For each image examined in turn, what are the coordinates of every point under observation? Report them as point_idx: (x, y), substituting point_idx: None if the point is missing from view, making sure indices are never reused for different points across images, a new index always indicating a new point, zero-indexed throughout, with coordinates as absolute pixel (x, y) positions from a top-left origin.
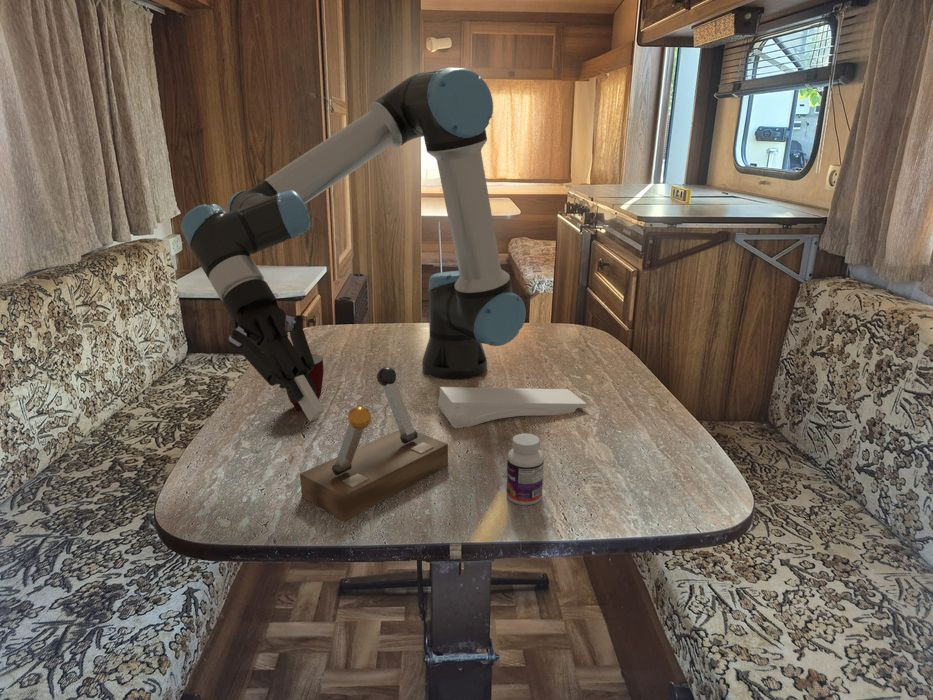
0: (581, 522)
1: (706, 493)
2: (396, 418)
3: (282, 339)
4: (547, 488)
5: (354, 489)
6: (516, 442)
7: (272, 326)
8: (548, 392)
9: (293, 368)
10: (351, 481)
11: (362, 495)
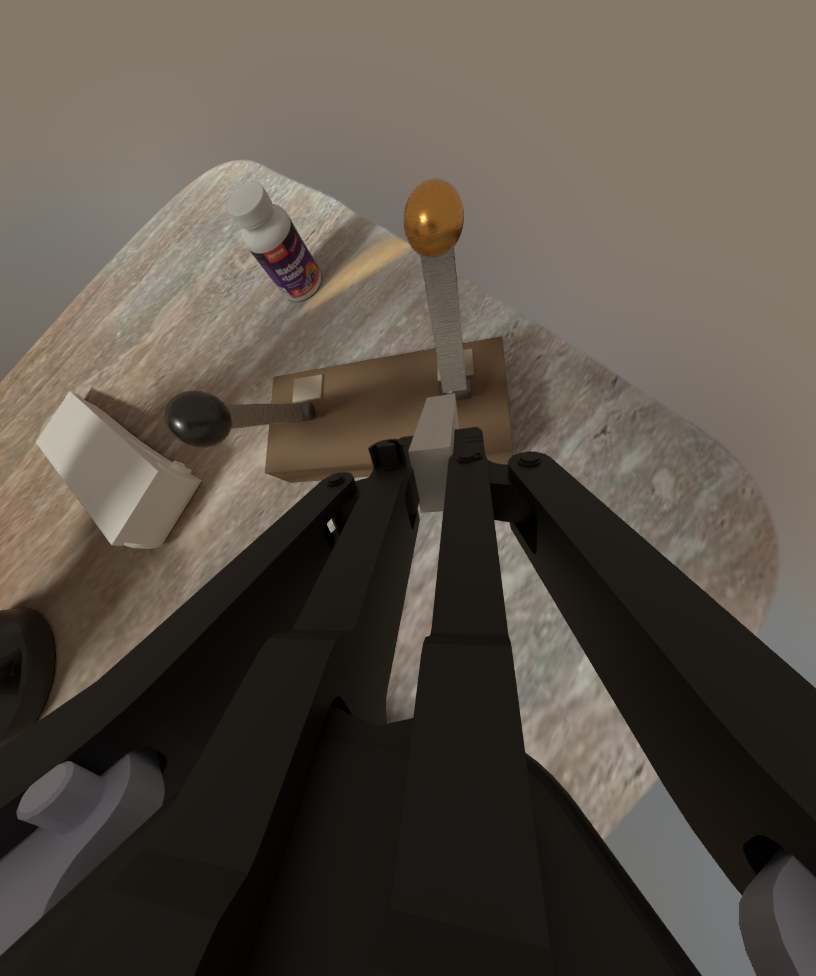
0: (309, 219)
1: (199, 202)
2: (285, 416)
3: (347, 628)
4: (273, 284)
5: (473, 343)
6: (261, 195)
7: (299, 859)
8: (56, 443)
9: (408, 517)
10: None
11: None
